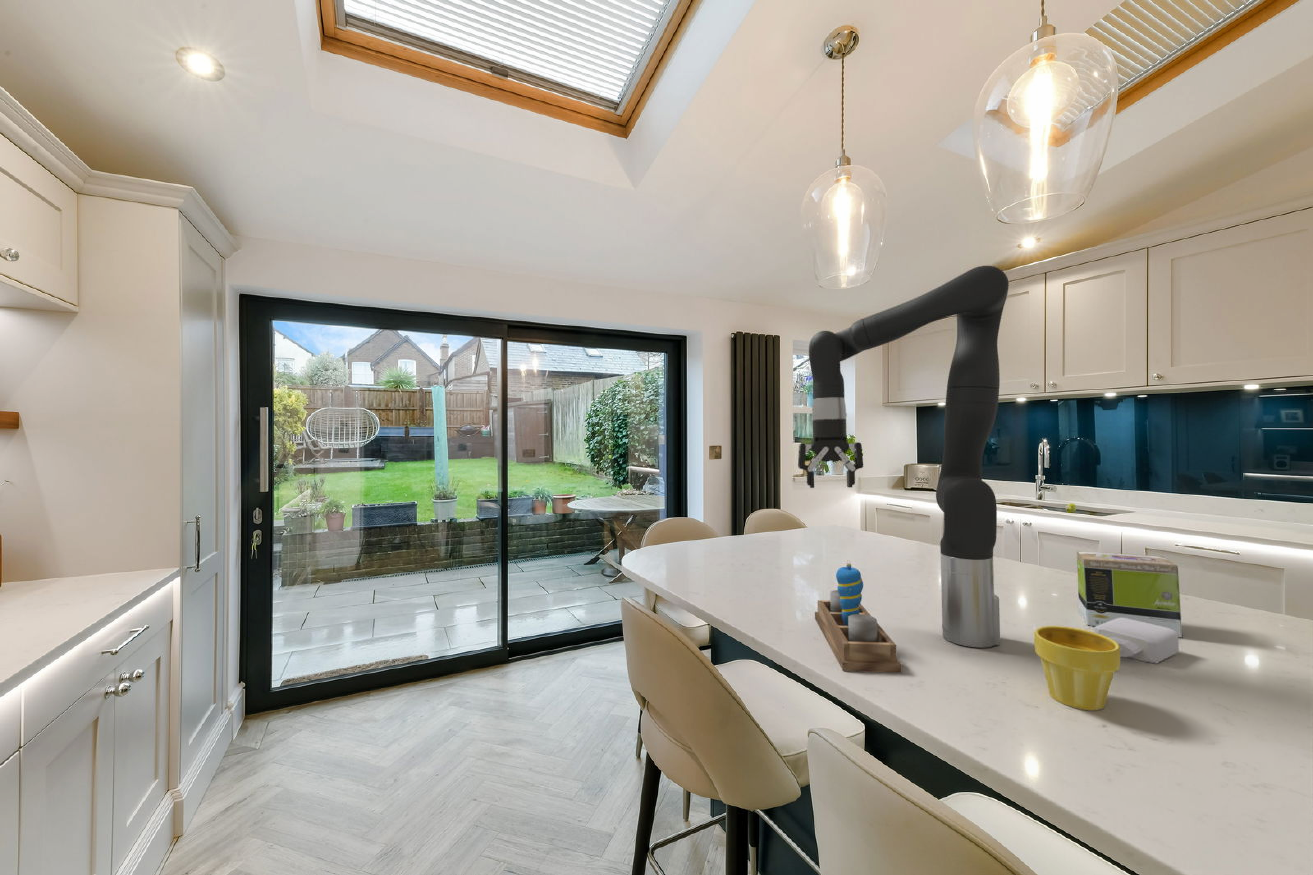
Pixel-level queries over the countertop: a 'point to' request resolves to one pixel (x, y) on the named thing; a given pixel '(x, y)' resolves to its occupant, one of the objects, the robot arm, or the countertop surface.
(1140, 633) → the charger
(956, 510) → the robot arm
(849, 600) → the ornament
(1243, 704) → the countertop surface
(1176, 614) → the tea box
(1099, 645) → the plant pot
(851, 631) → the wooden compartment tray
